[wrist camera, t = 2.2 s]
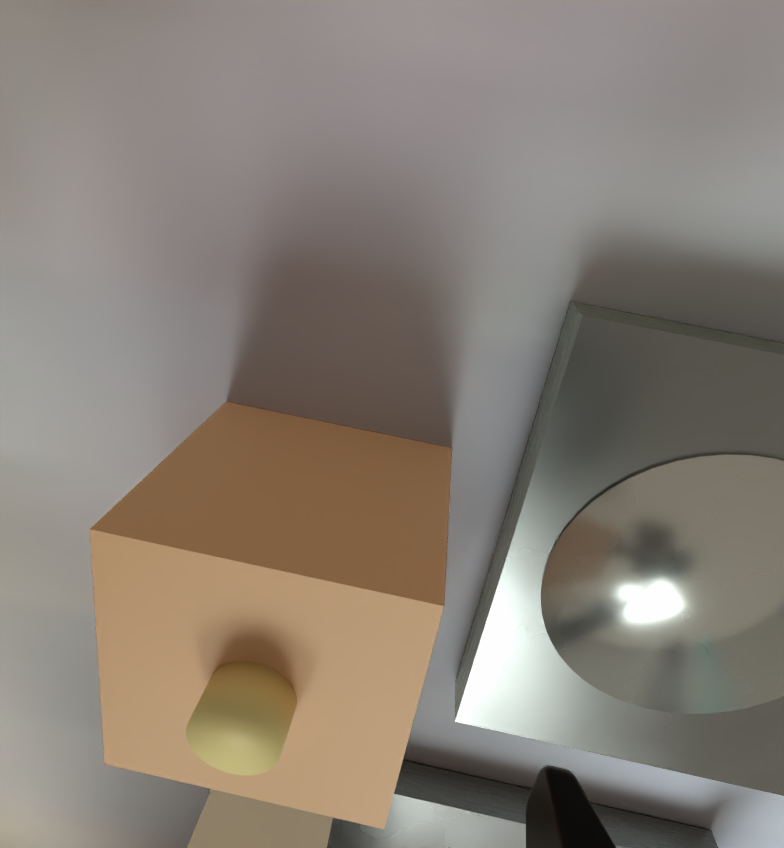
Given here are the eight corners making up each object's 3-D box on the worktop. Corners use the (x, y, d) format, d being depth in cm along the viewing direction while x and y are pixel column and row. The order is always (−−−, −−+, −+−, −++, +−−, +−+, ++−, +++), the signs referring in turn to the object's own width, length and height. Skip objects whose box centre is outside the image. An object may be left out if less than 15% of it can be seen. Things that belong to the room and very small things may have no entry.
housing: (410, 621, 14) (378, 882, 9) (217, 579, 14) (75, 810, 9) (451, 446, 12) (442, 651, 7) (227, 400, 12) (51, 565, 7)
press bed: (764, 750, 14) (791, 799, 13) (455, 681, 15) (455, 723, 14) (1006, 386, 10) (1074, 412, 9) (570, 301, 11) (583, 316, 9)
